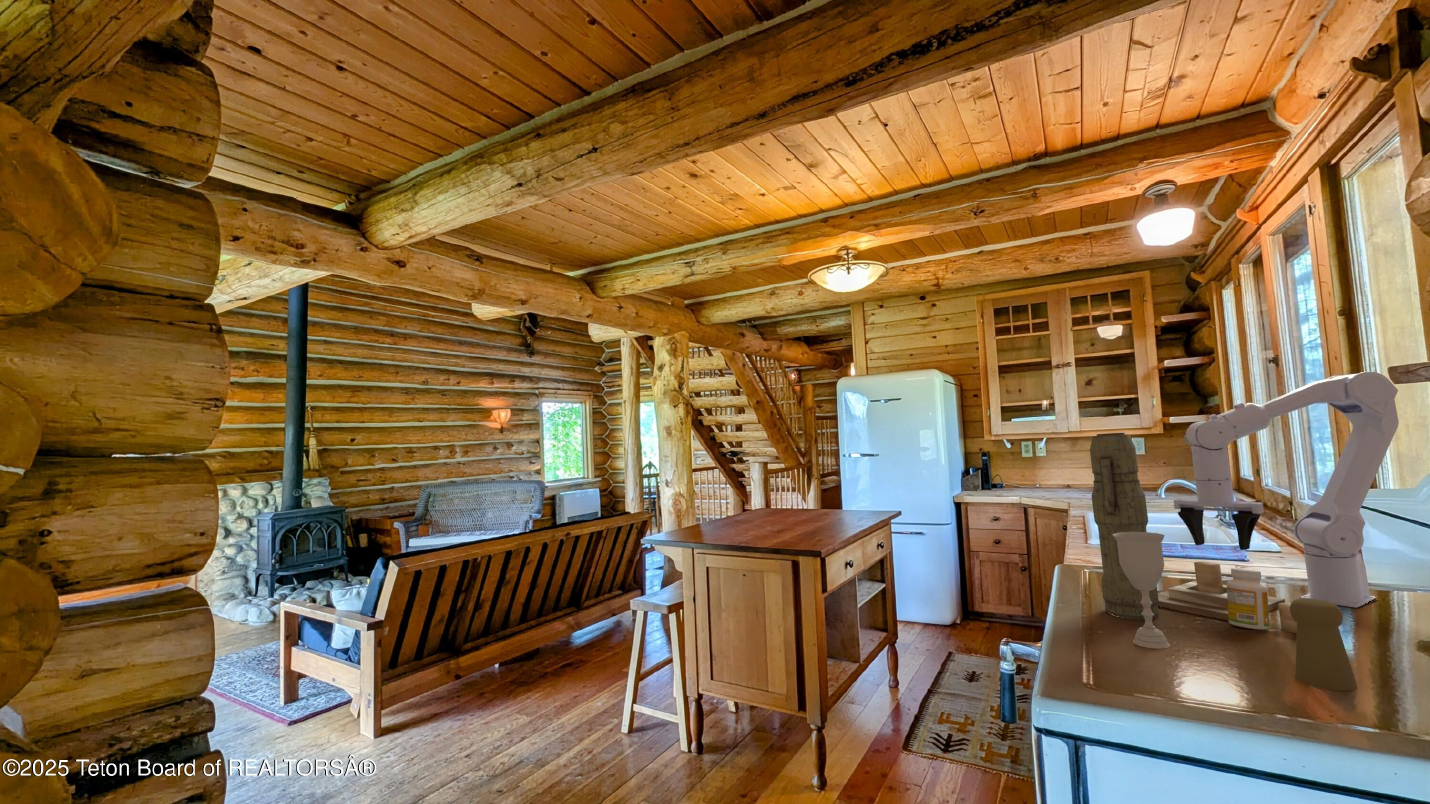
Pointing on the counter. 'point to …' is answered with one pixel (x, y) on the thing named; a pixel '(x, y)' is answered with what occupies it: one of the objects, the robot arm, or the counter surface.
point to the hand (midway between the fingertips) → (1221, 546)
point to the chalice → (1143, 577)
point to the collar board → (1205, 607)
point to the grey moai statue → (1118, 519)
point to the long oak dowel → (1209, 577)
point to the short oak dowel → (1287, 618)
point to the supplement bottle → (1247, 600)
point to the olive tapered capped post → (1321, 646)
